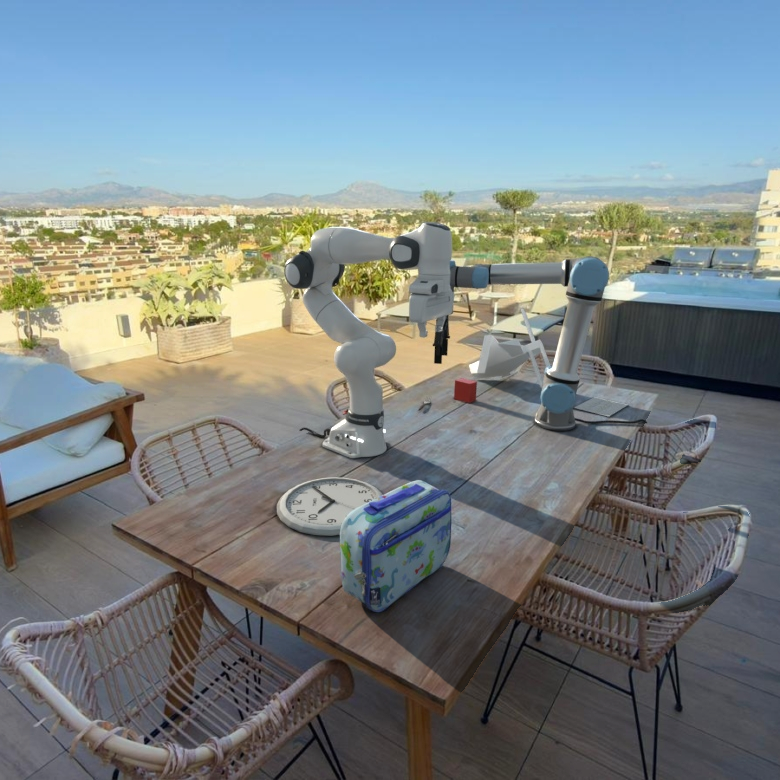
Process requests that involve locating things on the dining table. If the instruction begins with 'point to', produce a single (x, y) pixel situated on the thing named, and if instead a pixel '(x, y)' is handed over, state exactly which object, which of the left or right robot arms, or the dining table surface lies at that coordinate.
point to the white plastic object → (508, 356)
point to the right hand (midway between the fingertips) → (440, 359)
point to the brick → (465, 390)
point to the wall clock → (323, 504)
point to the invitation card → (601, 406)
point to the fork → (425, 403)
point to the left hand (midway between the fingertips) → (431, 334)
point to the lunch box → (394, 543)
